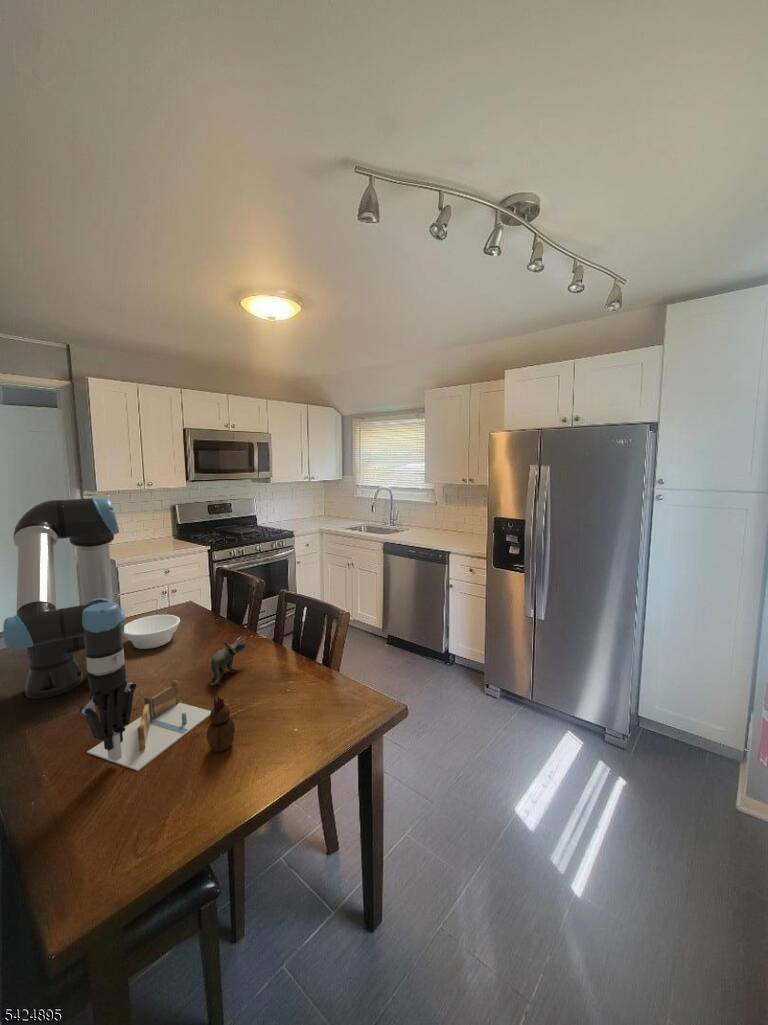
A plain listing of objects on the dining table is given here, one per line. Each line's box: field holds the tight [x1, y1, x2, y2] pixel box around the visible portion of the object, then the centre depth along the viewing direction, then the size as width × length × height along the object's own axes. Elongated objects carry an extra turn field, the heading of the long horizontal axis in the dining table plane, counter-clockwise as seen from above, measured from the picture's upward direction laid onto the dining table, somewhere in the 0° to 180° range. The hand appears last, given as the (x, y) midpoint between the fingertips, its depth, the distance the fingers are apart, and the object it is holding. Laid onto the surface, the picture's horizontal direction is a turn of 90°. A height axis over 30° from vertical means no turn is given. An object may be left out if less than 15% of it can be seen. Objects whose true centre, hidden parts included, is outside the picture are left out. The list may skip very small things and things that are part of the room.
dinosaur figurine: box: [209, 634, 247, 686], centre depth 144 cm, size 22×8×11 cm, turn 168°
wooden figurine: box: [206, 696, 236, 753], centre depth 109 cm, size 7×6×15 cm
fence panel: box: [137, 703, 150, 751], centre depth 113 cm, size 12×1×6 cm, turn 22°
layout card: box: [86, 701, 211, 772], centre depth 116 cm, size 18×25×3 cm
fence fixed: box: [143, 679, 180, 722], centre depth 125 cm, size 2×11×8 cm, turn 159°
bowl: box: [123, 614, 181, 650], centre depth 172 cm, size 21×21×8 cm
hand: (115, 757), depth 104 cm, fingers closed
